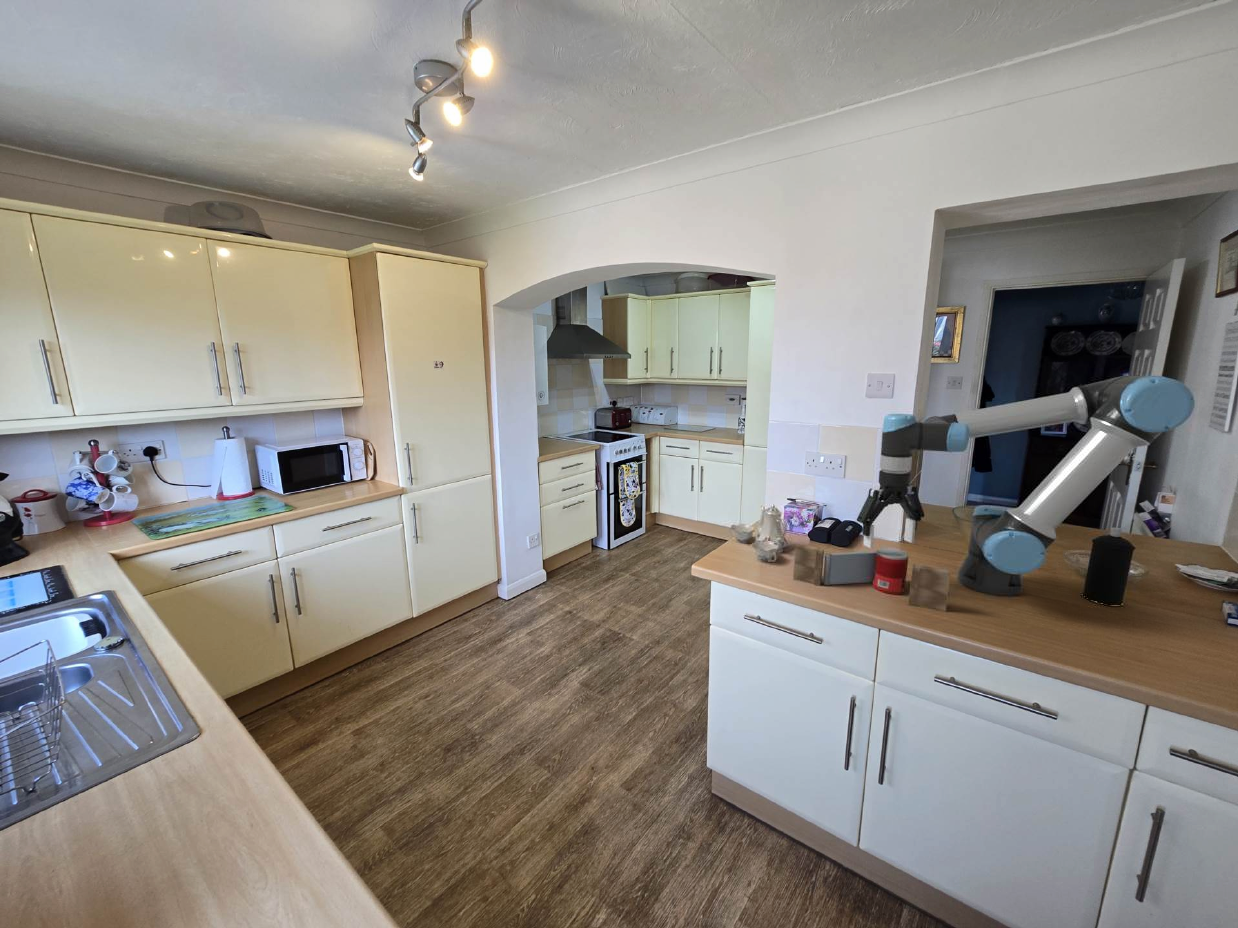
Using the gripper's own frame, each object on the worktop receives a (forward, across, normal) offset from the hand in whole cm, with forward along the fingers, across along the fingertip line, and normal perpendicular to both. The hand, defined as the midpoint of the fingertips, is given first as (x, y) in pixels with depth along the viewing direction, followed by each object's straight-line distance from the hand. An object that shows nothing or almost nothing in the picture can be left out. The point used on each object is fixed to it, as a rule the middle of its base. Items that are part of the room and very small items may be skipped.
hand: (888, 544), depth 140 cm
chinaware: (+12, +20, -34) cm, 42 cm away
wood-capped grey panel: (+12, +9, +2) cm, 16 cm away
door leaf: (+12, +6, -3) cm, 14 cm away
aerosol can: (+14, -50, +22) cm, 56 cm away
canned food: (+13, +1, +2) cm, 13 cm away
